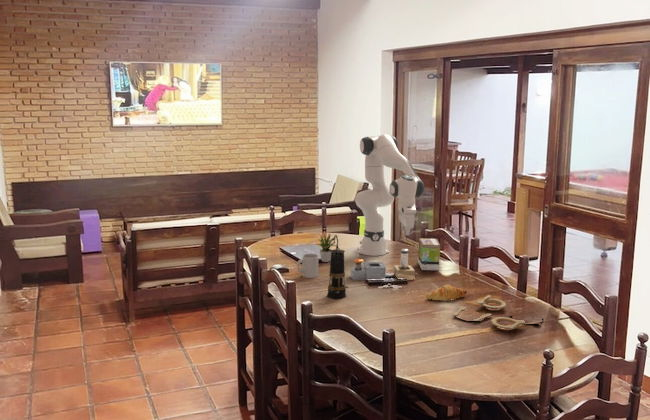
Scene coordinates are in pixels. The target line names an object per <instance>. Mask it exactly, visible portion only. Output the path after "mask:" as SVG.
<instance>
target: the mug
mask: <svg viewBox="0 0 650 420" xmlns="http://www.w3.org/2000/svg"><path fill="white" fill-rule="evenodd" d="M300 264H302V266H301V269H300ZM296 270H297V272H298V273H301V274H302V275H301V276H302V277H303V278H307V279H315V278H318V277H319V255H318V254H316V253H315V254H314V253H305V254H303V255H302V257H301V259H299V260H298V261H297V263H296Z"/></svg>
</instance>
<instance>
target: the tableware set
mask: <svg viewBox="0 0 650 420" xmlns="http://www.w3.org/2000/svg"><path fill="white" fill-rule="evenodd" d="M475 303H477V304H479V305H482V306H483V307H484V306H485V307H487V308H491V309H498V308H501V309H504V308H505V307H506V306H507V302H505V301H503V300H501V299H498V298H492V295H490V294H488V295H486V296H485V297H484V298H482V299H478V300H476V302H475ZM488 303H496V304H499V305H500V306H490V305H487V304H488ZM485 307H484V308H485ZM464 310H467V307H466V306H462V305H459V306H458V307H457V310H456V311H455V312H454V313H453V314H452V316H453V317H455V316H458V315H459V313H460V312H461V311H464ZM490 315H492V316H493V314H492V313H486V314H484V315H482V316H479V317H480V318H477V319H474V320H473V321H478V320H481V319H483V318H485V317H487V318H489V317H488V316H490ZM490 317H491V316H490ZM485 319H486V318H485ZM500 321H509V322H513V323H514V324H513V325H511V326H504V325H500V324H498V322H500ZM490 322H491V324H492V325H493V326H495V327H496V326H497V327H500V328H505V329H513V330H514V329H517V328H519V327H520V326H521V325H524V324H523V323H525V321H524V320H515V319H512V318H511V317H504V316H498V317H497V316H496V317H493V318H492V319H491V320H490ZM497 327H496V328H497Z"/></svg>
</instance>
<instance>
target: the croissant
mask: <svg viewBox="0 0 650 420" xmlns="http://www.w3.org/2000/svg"><path fill="white" fill-rule="evenodd" d="M467 293H468V292H467V290H466V289H463V288H458V287H456V286H454V285H452V284H444V285H442V286H441V287H438V288H437V289H435V290H433V291H430V292H429V293H427V294H425V297H426V299H428V300H431V299H432V300H431V301H438V300H451V299H455V300H457V299H456V298H458V299H460V298H459V297H461V298H462V296H463V297H464V296H466V294H467Z"/></svg>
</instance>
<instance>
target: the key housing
mask: <svg viewBox="0 0 650 420" xmlns="http://www.w3.org/2000/svg"><path fill="white" fill-rule="evenodd" d="M355 269H356V266H350V277H351V278H350V279H352V281H366V270H365V268H364V267H363V266H361V270H355Z"/></svg>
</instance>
